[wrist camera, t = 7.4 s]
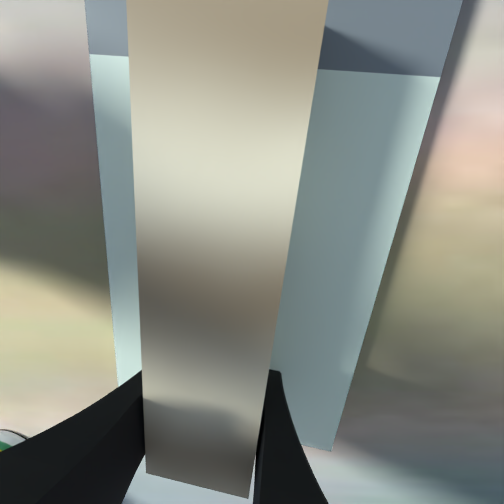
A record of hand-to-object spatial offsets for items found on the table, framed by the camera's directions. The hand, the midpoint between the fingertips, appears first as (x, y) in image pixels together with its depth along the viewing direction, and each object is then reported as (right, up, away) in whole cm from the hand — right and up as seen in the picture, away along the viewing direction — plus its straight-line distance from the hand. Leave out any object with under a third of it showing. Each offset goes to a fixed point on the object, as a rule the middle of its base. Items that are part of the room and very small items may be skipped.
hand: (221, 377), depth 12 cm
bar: (+1, +6, -1) cm, 6 cm away
